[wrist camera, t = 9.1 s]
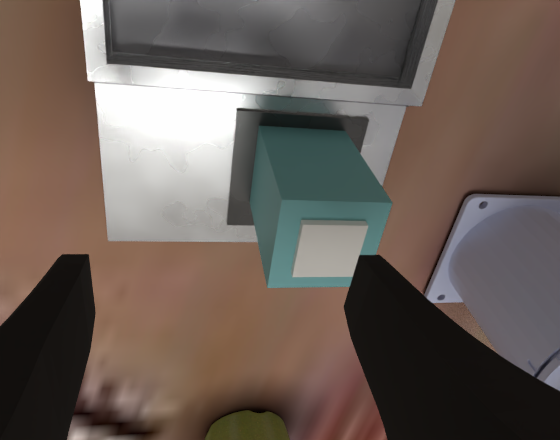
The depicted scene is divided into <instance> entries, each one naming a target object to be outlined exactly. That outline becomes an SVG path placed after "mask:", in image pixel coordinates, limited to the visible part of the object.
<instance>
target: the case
mask: <svg viewBox="0 0 560 440" xmlns="http://www.w3.org/2000/svg"><path fill="white" fill-rule="evenodd" d="M80 3H81V14H82V24H83V35H84V45H85V56H86V67H87V77H88V81H95V82H108V83H121V84H135V85H148V86H161V87H174V88H187V89H200V90H213V91H226V92H240V93H253V94H266V95H279V96H292V97H305V98H318V99H332V100H345V101H358V102H371V103H384V104H397V105H410V106H422V103H423V100H424V97H425V94H426V91H427V88H428V84H429V81H430V78H431V75H432V72H433V69H434V66H435V63H436V60H437V56H438V53H439V50H440V47H441V44H442V41H443V38H444V35H445V32H446V28H447V25H448V22H449V19H450V16H451V13H452V10H453V7H454V4H455V0H80Z"/></svg>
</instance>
